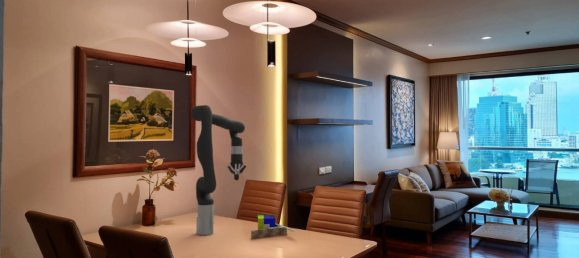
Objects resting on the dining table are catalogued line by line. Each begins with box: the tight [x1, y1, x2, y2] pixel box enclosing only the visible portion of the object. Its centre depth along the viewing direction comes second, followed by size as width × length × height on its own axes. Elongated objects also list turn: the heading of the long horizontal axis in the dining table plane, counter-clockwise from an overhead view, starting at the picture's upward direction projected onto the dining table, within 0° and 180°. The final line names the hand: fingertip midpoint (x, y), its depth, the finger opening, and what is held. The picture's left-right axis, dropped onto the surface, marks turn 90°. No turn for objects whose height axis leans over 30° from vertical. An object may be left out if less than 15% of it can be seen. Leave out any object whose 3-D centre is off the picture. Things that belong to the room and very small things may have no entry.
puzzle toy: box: [257, 214, 276, 230], centre depth 243 cm, size 10×10×10 cm
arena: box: [250, 222, 296, 240], centre depth 238 cm, size 22×28×5 cm
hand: (236, 180), depth 265 cm, fingers closed
